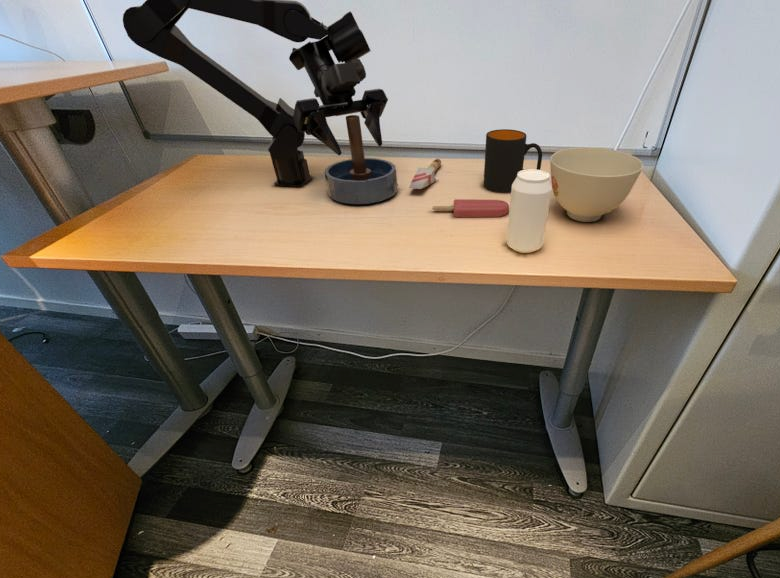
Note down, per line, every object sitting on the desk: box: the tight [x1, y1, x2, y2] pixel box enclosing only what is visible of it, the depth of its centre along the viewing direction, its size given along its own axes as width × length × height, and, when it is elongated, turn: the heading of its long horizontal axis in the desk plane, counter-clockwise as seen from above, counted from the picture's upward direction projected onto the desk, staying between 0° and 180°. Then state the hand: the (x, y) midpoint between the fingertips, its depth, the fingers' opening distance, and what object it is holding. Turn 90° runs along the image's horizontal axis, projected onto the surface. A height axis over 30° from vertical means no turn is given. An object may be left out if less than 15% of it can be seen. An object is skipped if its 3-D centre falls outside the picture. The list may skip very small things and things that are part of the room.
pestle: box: [345, 114, 372, 180], centre depth 84 cm, size 4×4×14 cm
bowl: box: [549, 147, 644, 223], centre depth 77 cm, size 16×16×10 cm
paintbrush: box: [408, 158, 442, 190], centre depth 94 cm, size 4×3×20 cm
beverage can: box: [506, 168, 553, 254], centre depth 67 cm, size 6×6×12 cm
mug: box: [483, 128, 543, 194], centre depth 88 cm, size 8×12×10 cm
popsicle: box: [432, 198, 510, 218], centre depth 81 cm, size 5×2×15 cm
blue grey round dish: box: [323, 157, 398, 205], centre depth 88 cm, size 15×15×5 cm
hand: (361, 149), depth 82 cm, fingers open, 9 cm apart
